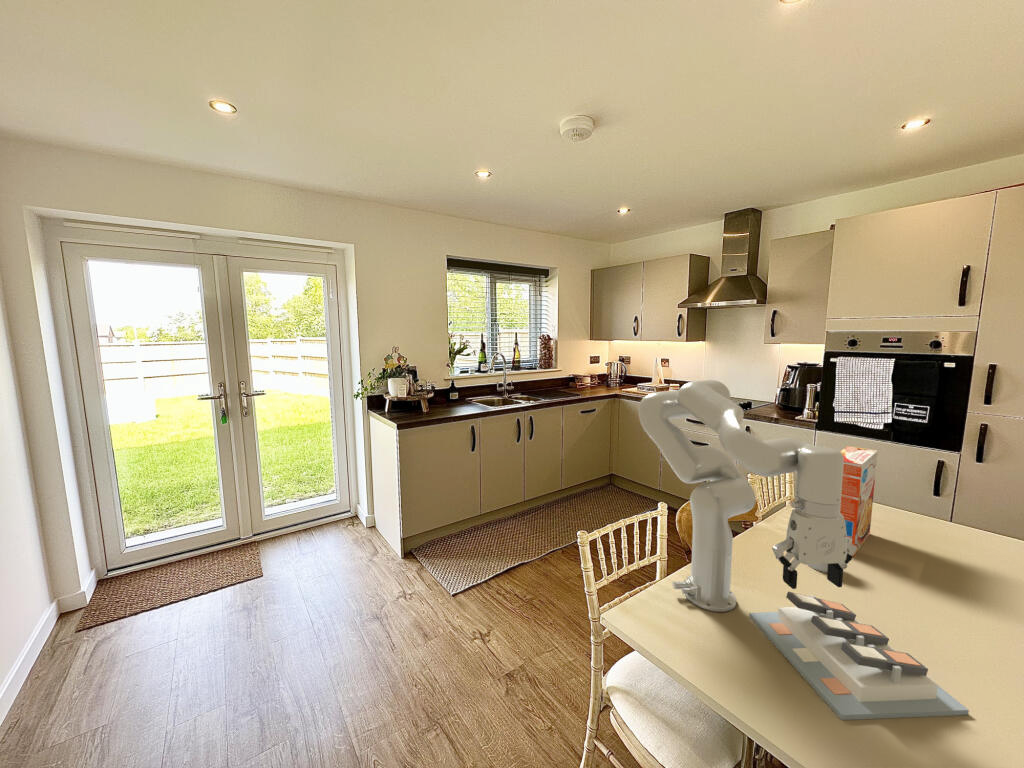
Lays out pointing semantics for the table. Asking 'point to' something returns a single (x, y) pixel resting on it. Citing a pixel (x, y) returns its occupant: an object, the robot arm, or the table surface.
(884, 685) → the switch unit
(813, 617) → the rocker
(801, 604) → the rocker
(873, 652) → the rocker
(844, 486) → the orange cereal box
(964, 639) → the table surface
